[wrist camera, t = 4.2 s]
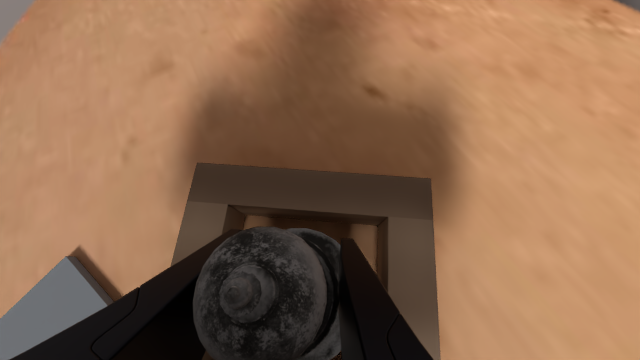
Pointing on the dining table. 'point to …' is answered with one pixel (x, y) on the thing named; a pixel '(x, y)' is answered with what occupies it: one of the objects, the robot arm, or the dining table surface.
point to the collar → (334, 206)
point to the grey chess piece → (270, 296)
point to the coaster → (51, 307)
